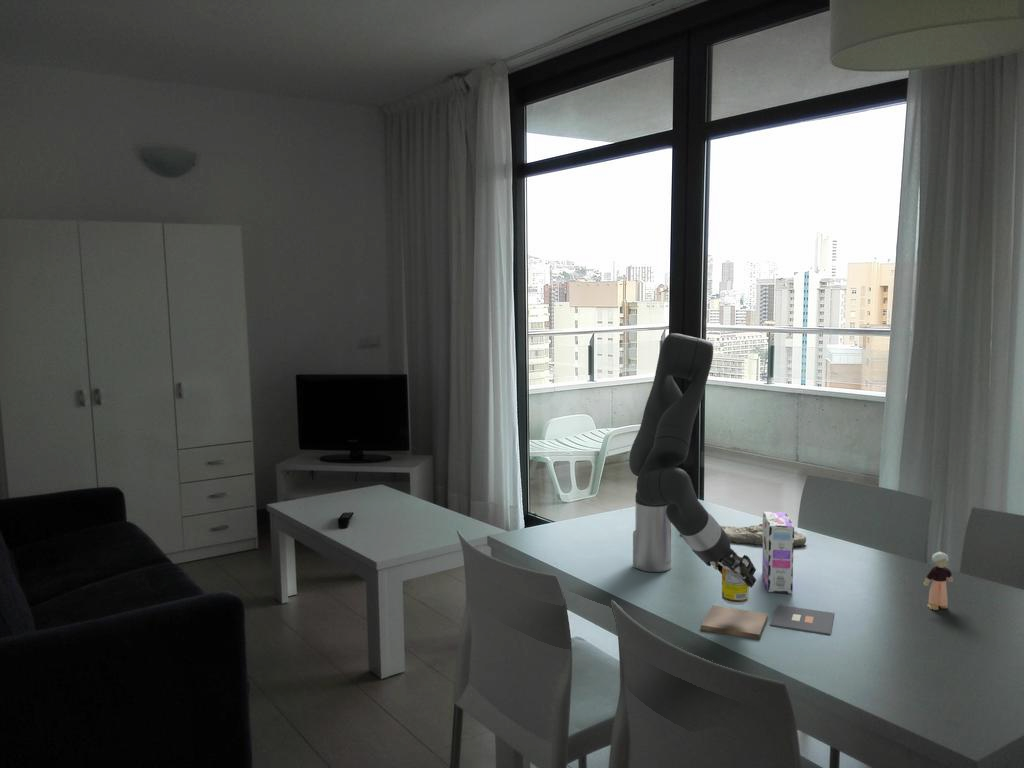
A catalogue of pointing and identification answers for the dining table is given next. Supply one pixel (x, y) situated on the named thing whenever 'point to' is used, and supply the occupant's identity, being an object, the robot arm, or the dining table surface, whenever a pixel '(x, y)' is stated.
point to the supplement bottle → (734, 586)
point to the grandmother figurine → (938, 581)
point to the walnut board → (735, 622)
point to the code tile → (803, 619)
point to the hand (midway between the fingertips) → (740, 579)
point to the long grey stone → (755, 535)
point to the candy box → (778, 552)
